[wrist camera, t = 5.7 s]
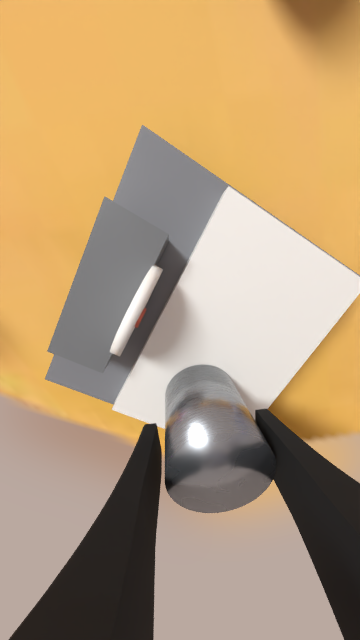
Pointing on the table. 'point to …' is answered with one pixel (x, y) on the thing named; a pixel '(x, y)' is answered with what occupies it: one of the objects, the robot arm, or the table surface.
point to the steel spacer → (212, 443)
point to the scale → (191, 290)
